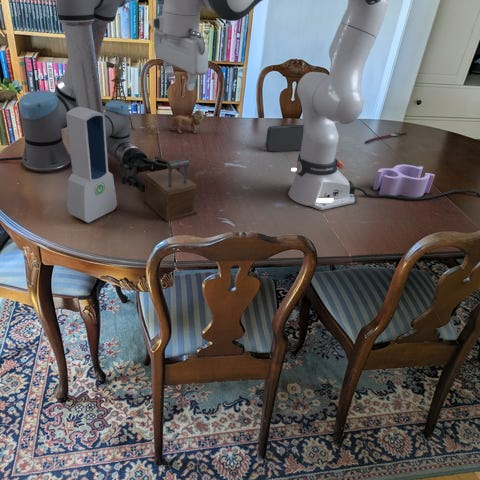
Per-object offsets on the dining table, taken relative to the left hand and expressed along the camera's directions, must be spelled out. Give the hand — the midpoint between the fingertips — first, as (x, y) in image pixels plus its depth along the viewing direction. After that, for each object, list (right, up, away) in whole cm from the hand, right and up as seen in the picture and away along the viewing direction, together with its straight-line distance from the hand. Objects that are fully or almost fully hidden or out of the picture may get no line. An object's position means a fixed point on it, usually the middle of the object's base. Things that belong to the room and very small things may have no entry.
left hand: (164, 183), depth 141 cm
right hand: (+8, +23, -22) cm, 33 cm away
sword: (+90, +30, +73) cm, 120 cm away
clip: (+81, +1, +27) cm, 85 cm away
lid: (+3, 0, -4) cm, 5 cm away
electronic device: (-20, -9, -6) cm, 23 cm away
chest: (+2, -7, +1) cm, 8 cm away
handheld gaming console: (+44, +20, +50) cm, 70 cm away
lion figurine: (0, +29, +57) cm, 64 cm away
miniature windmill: (-26, +28, +51) cm, 64 cm away
